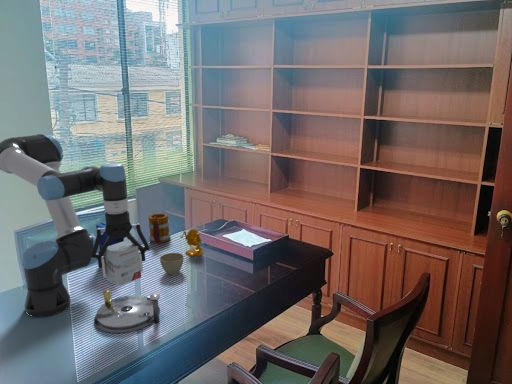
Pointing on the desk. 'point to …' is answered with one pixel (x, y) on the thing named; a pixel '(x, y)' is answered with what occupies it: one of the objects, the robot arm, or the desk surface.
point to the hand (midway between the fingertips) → (123, 272)
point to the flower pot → (172, 263)
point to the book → (105, 235)
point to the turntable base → (155, 319)
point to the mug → (159, 228)
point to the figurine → (193, 242)
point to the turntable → (124, 311)
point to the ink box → (122, 263)
